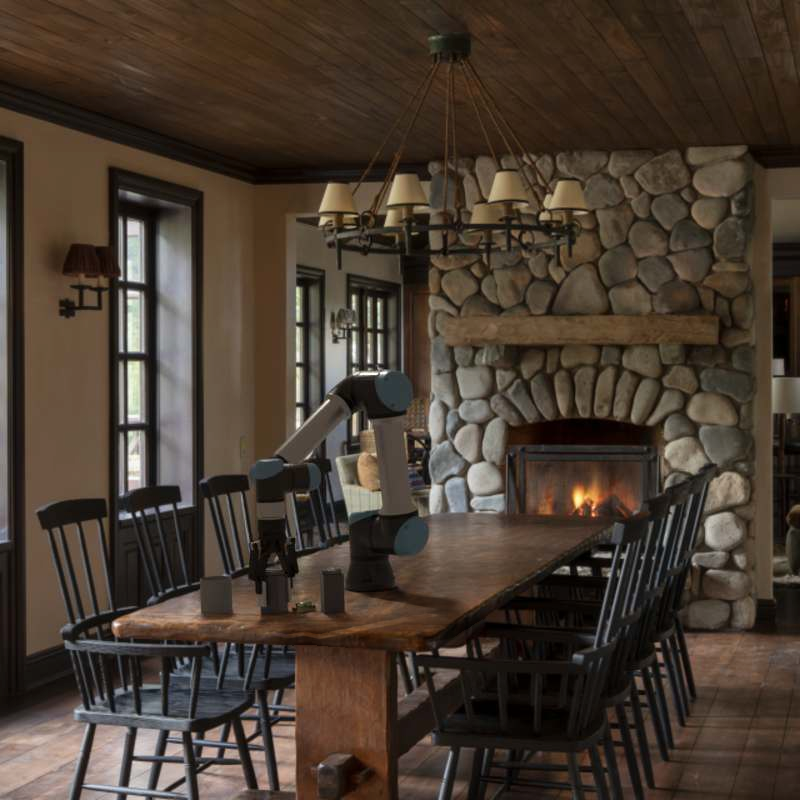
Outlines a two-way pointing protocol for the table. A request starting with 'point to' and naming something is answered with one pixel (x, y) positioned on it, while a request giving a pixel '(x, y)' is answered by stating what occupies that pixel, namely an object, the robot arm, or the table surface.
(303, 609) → the bubble vial
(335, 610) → the knob
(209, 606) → the cup
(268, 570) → the knob
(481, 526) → the table surface
